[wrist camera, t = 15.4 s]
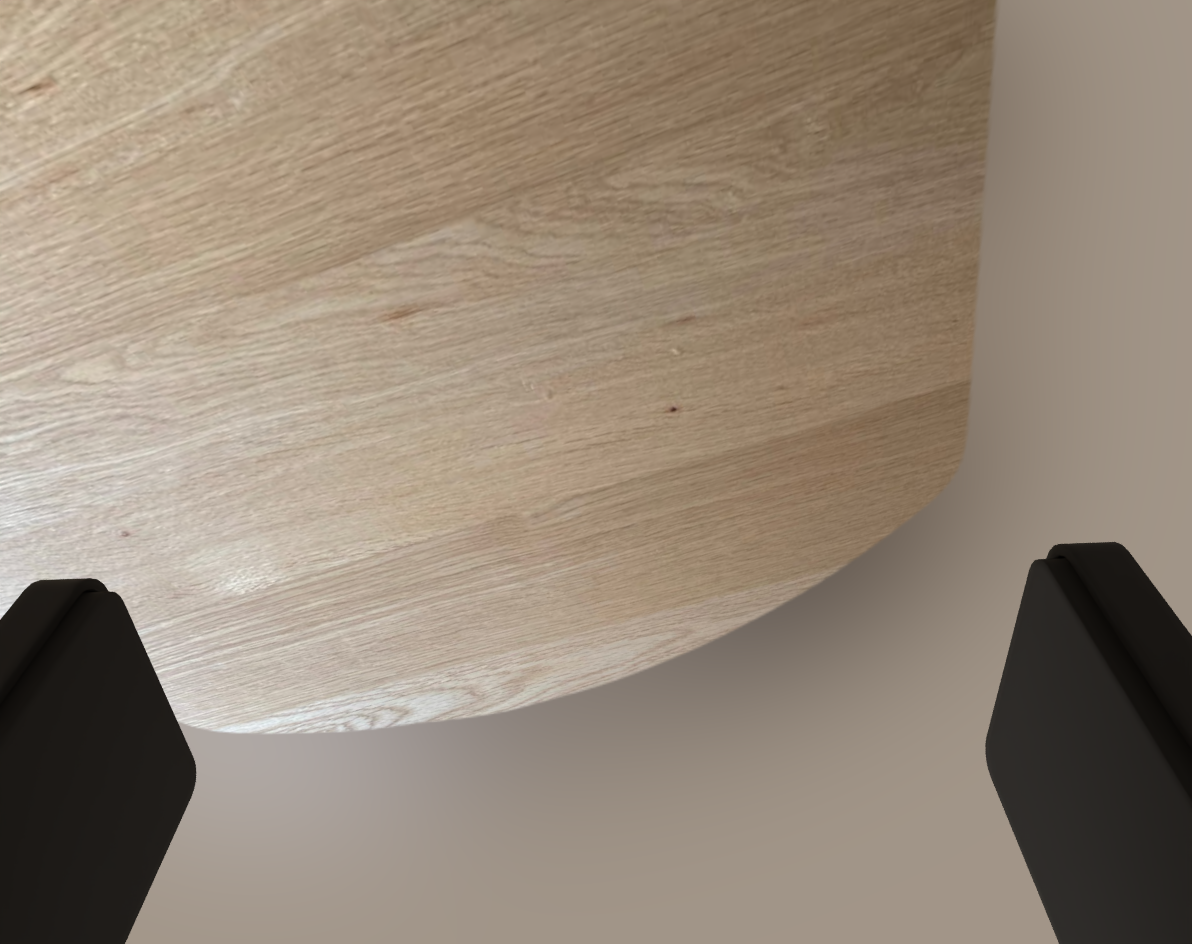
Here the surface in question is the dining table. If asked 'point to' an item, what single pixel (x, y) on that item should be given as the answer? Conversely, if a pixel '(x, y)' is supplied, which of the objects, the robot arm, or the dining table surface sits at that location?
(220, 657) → the dining table surface
